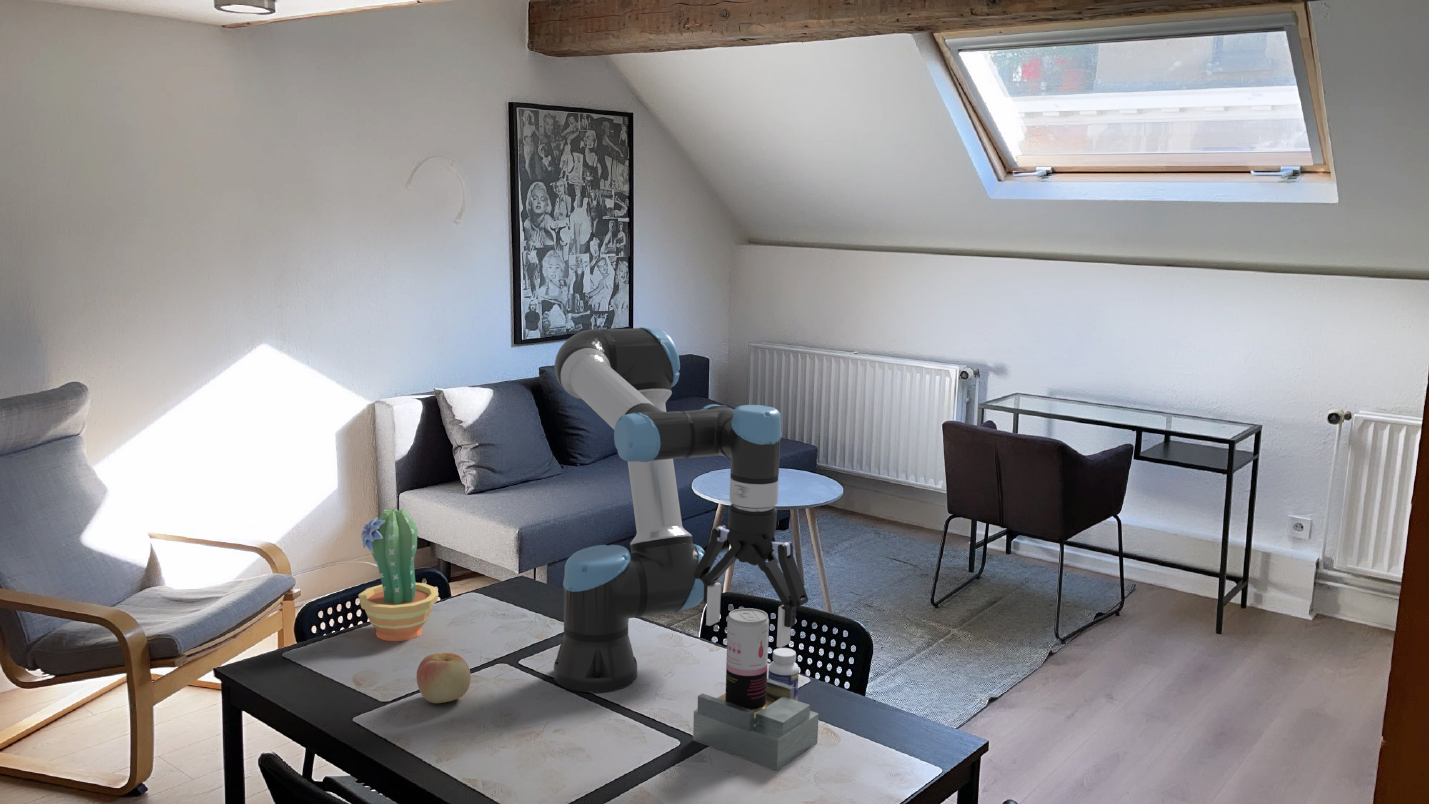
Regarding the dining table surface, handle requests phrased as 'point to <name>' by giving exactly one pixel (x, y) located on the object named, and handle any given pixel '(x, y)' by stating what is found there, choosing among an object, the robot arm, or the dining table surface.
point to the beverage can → (747, 658)
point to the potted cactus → (395, 578)
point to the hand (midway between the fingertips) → (747, 633)
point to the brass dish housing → (758, 727)
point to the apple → (443, 677)
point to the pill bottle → (785, 668)
